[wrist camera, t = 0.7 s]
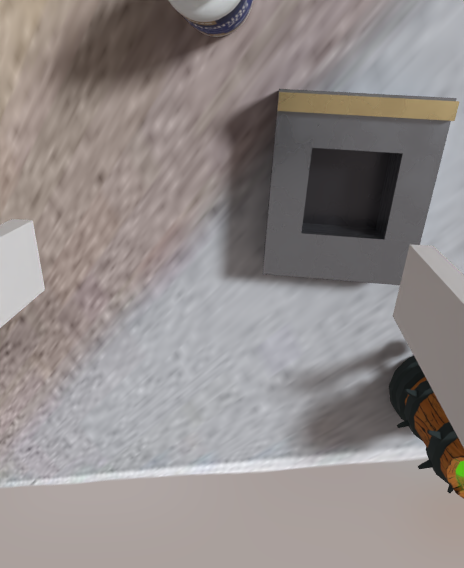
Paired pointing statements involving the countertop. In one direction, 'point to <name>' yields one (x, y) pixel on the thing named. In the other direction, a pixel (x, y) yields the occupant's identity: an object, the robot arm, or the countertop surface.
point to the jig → (352, 182)
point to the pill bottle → (214, 14)
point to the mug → (428, 423)
